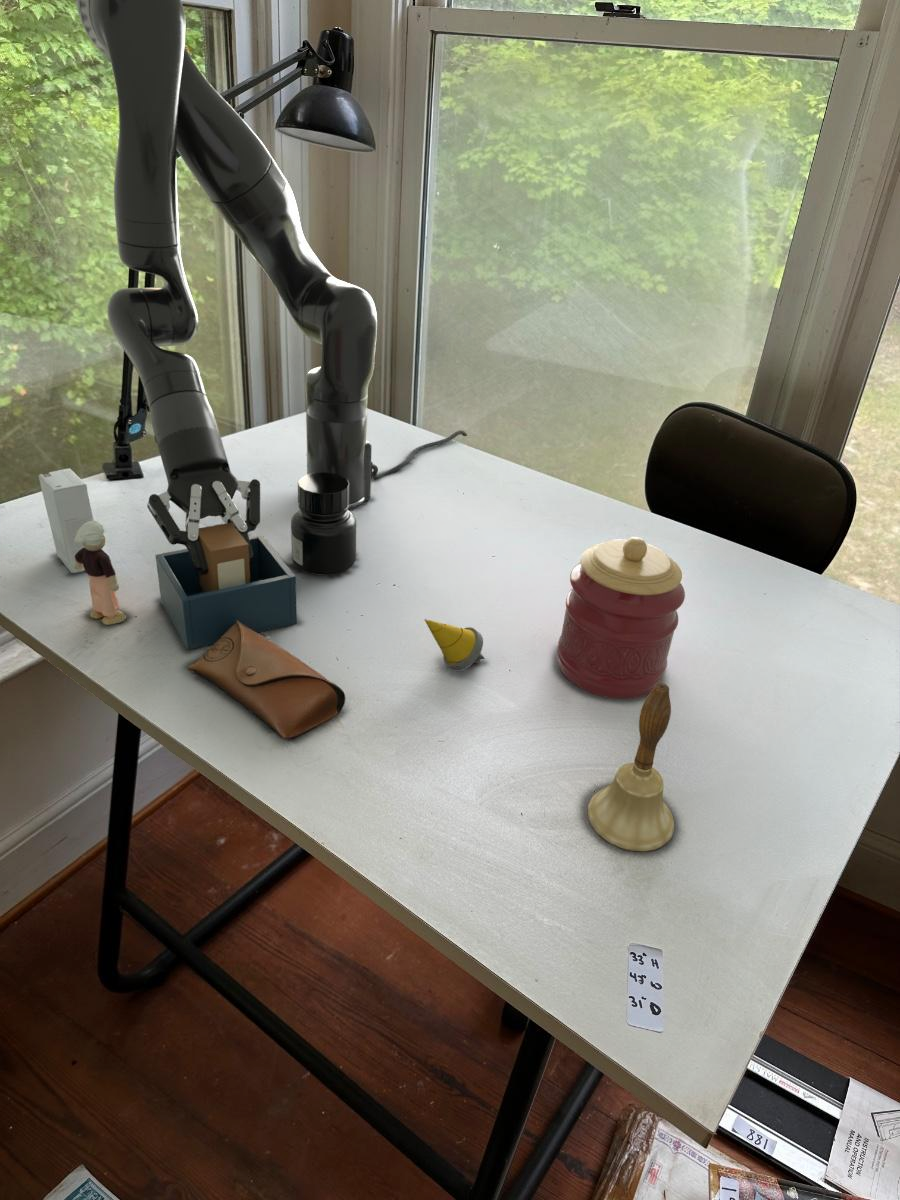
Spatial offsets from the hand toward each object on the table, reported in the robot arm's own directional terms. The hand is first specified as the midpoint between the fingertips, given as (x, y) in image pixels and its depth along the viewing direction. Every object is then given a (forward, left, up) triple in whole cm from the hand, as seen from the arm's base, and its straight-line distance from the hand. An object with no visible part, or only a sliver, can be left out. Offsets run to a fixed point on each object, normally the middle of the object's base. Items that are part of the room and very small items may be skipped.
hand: (225, 568), depth 102 cm
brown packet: (0, -1, -4) cm, 4 cm away
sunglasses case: (+1, +15, -7) cm, 17 cm away
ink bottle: (-16, -8, -7) cm, 19 cm away
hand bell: (-23, +49, -7) cm, 55 cm away
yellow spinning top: (-20, +21, -7) cm, 30 cm away
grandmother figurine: (+13, -6, -7) cm, 17 cm away
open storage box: (0, -1, -7) cm, 7 cm away
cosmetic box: (+14, -21, -7) cm, 26 cm away
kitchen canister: (-37, +29, -7) cm, 48 cm away
